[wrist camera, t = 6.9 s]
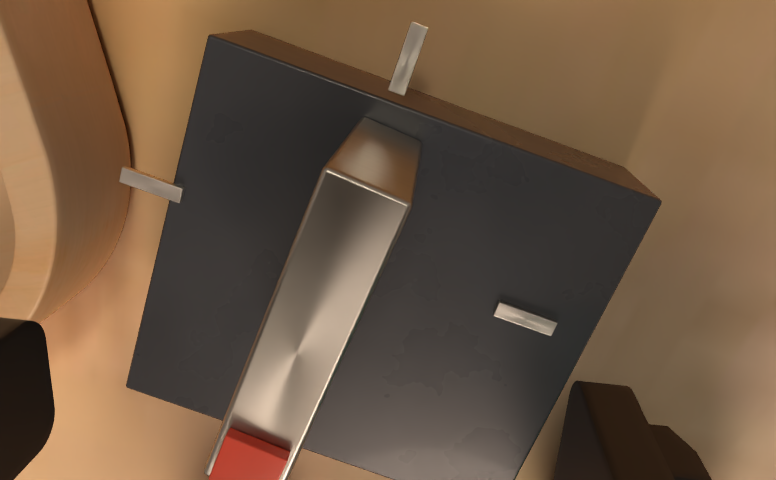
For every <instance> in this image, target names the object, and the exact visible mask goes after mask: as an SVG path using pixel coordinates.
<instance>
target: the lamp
mask: <svg viewBox="0 0 776 480" xmlns="http://www.w3.org/2000/svg"><path fill="white" fill-rule="evenodd" d="M124 166H127V167H130V168H131V161H130V151H129V143H128V138H127V133H126V127H125V124H124V120H123V117H122V114H121V110H120V107H119V103H118V100H117V96H116V93H115V89H114V86H113V83H112V79H111V76H110V73H109V70H108V67H107V63H106V60H105V57H104V54H103V50H102V47H101V44H100V41H99V38H98V34H97V31H96V28H95V25H94V22H93V18H92V15H91V12H90V9H89V6H88V2H87V0H0V317H2V318H11V319H21V320H30V321H35V322H37V323H41V322H42V321H43V320H45V319H46V318H47V317H48V316H50V315H51V314H52V313H54V312H55V311H56V310H57V309H59V308H60V307H61V306H63V305H64V304H65V303H66V302H68V301H69V300H70V299H71V298H73V297H74V296H75V295H76V294H78V293H79V292H80V291H81V290H83V289H84V288H85V287H86V286H87V285H88V284H89V283H90V282H91V281H92V280H93V279H94V278H95V277H96V275H97V274H98V273H99V272H100V270H101V269H102V268H103V267H104V265H105V264H106V262H107V260H108V259H109V257H110V256H111V254H112V252H113V250H114V248H115V246H116V244H117V242H118V240H119V237H120V234H121V232H122V229H123V226H124V222H125V219H126V215H127V210H128V204H129V198H130V187H131V186H129V185H126V184H124V183H121V182H119V179H120V174H121V169H122V167H124Z"/></svg>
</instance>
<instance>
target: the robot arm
mask: <svg viewBox="0 0 776 480" xmlns="http://www.w3.org/2000/svg"><path fill="white" fill-rule="evenodd" d="M54 415H55V408H54V399H53V391H52V383H51V376H50V368H49V360H48V352H47V344H46V337H45V333H44V330H43V328H42V327H41V325H40V324H39V323H37V322H35V321H30V320H21V319H11V318H2V317H0V480H14V479H15V478H16V476H17V475H18V474H19V473H20V472H21V471H22V470H23V469H24V468H25V467H26V466H27V465H28V464H29V463H30V462H31V461H32V459H33V458H34V457H35V456H36V455H37V454H38V453H39V452H40V451H41V450H42V448H43V447H44V445H45V444H46V442H47V440H48V438H49V436H50V433H51V430H52V427H53V423H54ZM554 480H712V479H711V477H710V476H709V474H708V472H707V470H706V468H705V467H704V465H703V463H702V461H701V459H700V458H699V456H698V454H697V452H696V451H695V450H693V449H692V448H691V447H690V446H689V445H688V444H687V443H686V442H685V441H683V440H682V439H681V438H680V437H679V436H678V435H677V434H676V433H675V432H673V431H672V430H671V429H670V428H669V427H668V426H660V425H651V424H648V422H647V420H646V418H645V416H644V414H643V412H642V409H641V407H640V405H639V403H638V401H637V399H636V397H635V395H634V393H633V391H632V389H631V388H630V387H628V386H620V385H611V384H602V383H593V382H583V381H575V382H574V384H573V385H572V388H571V391H570V395H569V400H568V405H567V410H566V416H565V421H564V426H563V431H562V437H561V442H560V447H559V453H558V458H557V463H556V469H555V476H554Z"/></svg>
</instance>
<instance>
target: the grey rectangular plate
mask: <svg viewBox="0 0 776 480" xmlns="http://www.w3.org/2000/svg"><path fill="white" fill-rule="evenodd" d="M421 152H422V143H421V141H419V140H416V139H414V138H412V137H410V136H407V135H405V134H403V133H400V132H398V131H396V130H394V129H391V128H389V127H387V126H384V125H382V124H380V123H378V122H375V121H373V120H371V119H368V118H366V117H362V118H361V119H360V120H359V122H358V123H357V124H356V126H355V127H354V128H353V129H352V131H351V132H350V133H349V135H348V136H347V137H346V139H345V140H344V141H343V142H342V144H341V145H340V146H339V148H338V149H337V150H336V152H335V153H334V154H333V155H332V157H331V158H330V159H329V161H328V162H327V163H326V165H325V166H324V167H323V169H322V170H321V173H320V176H319V178H318V181H317V183H316V186H315V188H314V191H313V193H312V196H311V198H310V201H309V203H308V206H307V209H306V211H305V214H304V216H303V219H302V221H301V224H300V226H299V229H298V231H297V234H296V237H295V239H294V242H293V244H292V247H291V249H290V252H289V254H288V257H287V259H286V262H285V264H284V267H283V270H282V272H281V275H280V277H279V280H278V282H277V285H276V287H275V290H274V292H273V295H272V298H271V300H270V303H269V305H268V308H267V310H266V313H265V315H264V318H263V320H262V323H261V325H260V328H259V331H258V333H257V336H256V338H255V341H254V343H253V346H252V348H251V351H250V353H249V356H248V358H247V361H246V364H245V366H244V369H243V371H242V374H241V376H240V379H239V381H238V384H237V386H236V389H235V392H234V394H233V397H232V399H231V402H230V404H229V407H228V409H227V412H226V414H225V417H224V419H223V422H222V425H221V427H220V430H219V432H218V435H217V437H216V440H215V442H214V445H213V447H212V450H211V453H210V455H209V458H208V460H207V463H206V465H205V468H204V473H205V474H206V475H207V476H209V480H288V477H289V475H290V473H291V471H292V469H293V466H294V464H295V462H296V460H297V458H298V456H299V453H300V451H301V449H302V447H303V445H304V442H305V440H306V438H307V436H308V434H309V432H310V429H311V427H312V425H313V423H314V421H315V418H316V416H317V414H318V412H319V410H320V408H321V405H322V403H323V401H324V399H325V397H326V394H327V392H328V390H329V388H330V386H331V384H332V381H333V379H334V377H335V375H336V373H337V370H338V368H339V366H340V364H341V362H342V359H343V357H344V355H345V353H346V351H347V349H348V346H349V344H350V342H351V340H352V338H353V335H354V333H355V331H356V329H357V327H358V325H359V322H360V320H361V318H362V316H363V314H364V311H365V309H366V307H367V305H368V303H369V301H370V298H371V296H372V294H373V292H374V290H375V287H376V285H377V283H378V281H379V279H380V277H381V274H382V272H383V270H384V268H385V266H386V263H387V261H388V259H389V257H390V255H391V253H392V250H393V248H394V246H395V244H396V242H397V239H398V237H399V235H400V233H401V231H402V228H403V226H404V224H405V222H406V220H407V218H408V215H409V213H410V211H411V209H412V205H413V199H414V193H415V187H416V181H417V175H418V170H419V164H420V158H421Z"/></svg>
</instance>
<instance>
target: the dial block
mask: <svg viewBox="0 0 776 480" xmlns="http://www.w3.org/2000/svg"><path fill="white" fill-rule="evenodd" d="M428 29H429V27H427V26H424V25H421V24H419V23H416V22H413V21H411V24H410V26H409V29H408V32H407V35H406V38H405V41H404V44H403V47H402V50H401V53H400V56H399V58H398V61H397V64H396V67H395V70H394V73H393V76H392V79H391V81H389V80H386V79H384V78H381V77H378V76H375V75H373V74H370V73H367V72H365V71H362V70H359V69H356V68H354V67H351V66H348V65H346V64H343V63H340V62H338V61H335V60H332V59H329V58H327V57H324V56H321V55H319V54H316V53H313V52H310V51H308V50H305V49H302V48H300V47H297V46H294V45H291V44H289V43H286V42H283V41H281V40H278V39H275V38H273V37H270V36H267V35H264V34H262V33H259V32H256V31H254V30H245V31H237V32H228V33H220V34H211V35H209V36H208V39H207V43H206V47H205V52H204V56H203V60H202V64H201V69H200V73H199V77H198V81H197V86H196V90H195V94H194V98H193V103H192V107H191V111H190V116H189V120H188V124H187V128H186V133H185V137H184V141H183V145H182V150H181V154H180V158H179V162H178V167H177V171H176V175H175V179H174V183H172V182H169V181H166V180H164V179H161V178H158V177H155V176H152V175H150V174H147V173H144V172H141V171H138V170H136V169H133V168H130V167H127V166H124V167H122V169H121V174H120V179H119V182H121V183H124V184H126V185H129V186H132V187H135V188H138V189H140V190H143V191H146V192H149V193H152V194H154V195H157V196H160V197H163V198H166V199H168V200H170V201H169V205H168V209H167V213H166V218H165V222H164V226H163V230H162V235H161V239H160V243H159V247H158V252H157V256H156V260H155V264H154V269H153V273H152V277H151V281H150V286H149V290H148V294H147V298H146V303H145V307H144V311H143V315H142V320H141V324H140V328H139V332H138V337H137V341H136V345H135V349H134V354H133V358H132V362H131V366H130V371H129V375H128V379H127V384H126V387H127V388H130V389H133V390H136V391H138V392H141V393H144V394H147V395H150V396H153V397H156V398H159V399H162V400H164V401H167V402H170V403H173V404H176V405H179V406H182V407H185V408H188V409H191V410H193V411H196V412H199V413H202V414H205V415H208V416H211V417H214V418H217V419H220V420H222V421H223V419H224V417H225V414H226V412H227V409H228V407H229V404H230V402H231V399H232V397H233V394H234V392H235V389H236V386H237V384H238V381H239V379H240V376H241V374H242V371H243V369H244V366H245V364H246V361H247V358H248V356H249V353H250V351H251V348H252V346H253V343H254V341H255V338H256V336H257V333H258V331H259V328H260V325H261V323H262V320H263V318H264V315H265V313H266V310H267V308H268V305H269V303H270V300H271V298H272V295H273V292H274V290H275V287H276V285H277V282H278V280H279V277H280V275H281V272H282V270H283V267H284V264H285V262H286V259H287V257H288V254H289V252H290V249H291V247H292V244H293V242H294V239H295V237H296V234H297V231H298V229H299V226H300V224H301V221H302V219H303V216H304V214H305V211H306V209H307V206H308V203H309V201H310V198H311V196H312V193H313V191H314V188H315V186H316V183H317V181H318V178H319V176H320V173H321V170H322V169H323V167H324V166H325V165H326V163H327V162H328V161H329V159H330V158H331V157H332V155H333V154H334V153H335V152H336V150H337V149H338V148H339V146H340V145H341V144H342V142H343V141H344V140H345V139H346V137H347V136H348V135H349V133H350V132H351V131H352V129H353V128H354V127H355V126H356V124H357V123H358V122H359V120H360V119H361V118H362V117H366V118H368V119H371V120H373V121H375V122H378V123H380V124H382V125H384V126H387V127H389V128H391V129H394V130H396V131H398V132H400V133H403V134H405V135H407V136H410V137H412V138H414V139H416V140H419V141H421V143H422V152H421V158H420V164H419V170H418V175H417V181H416V187H415V193H414V199H413V205H412V209H411V211H410V213H409V215H408V218H407V220H406V222H405V224H404V226H403V228H402V231H401V233H400V235H399V237H398V239H397V242H396V244H395V246H394V248H393V250H392V253H391V255H390V257H389V259H388V261H387V263H386V266H385V268H384V270H383V272H382V274H381V277H380V279H379V281H378V283H377V285H376V287H375V290H374V292H373V294H372V296H371V298H370V301H369V303H368V305H367V307H366V309H365V311H364V314H363V316H362V318H361V320H360V322H359V325H358V327H357V329H356V331H355V333H354V335H353V338H352V340H351V342H350V344H349V346H348V349H347V351H346V353H345V355H344V357H343V359H342V362H341V364H340V366H339V368H338V370H337V373H336V375H335V377H334V379H333V381H332V384H331V386H330V388H329V390H328V392H327V394H326V397H325V399H324V401H323V403H322V405H321V408H320V410H319V412H318V414H317V416H316V418H315V421H314V423H313V425H312V427H311V429H310V432H309V434H308V436H307V438H306V440H305V442H304V445H303V447H302V448H304V449H307V450H309V451H312V452H315V453H318V454H321V455H324V456H327V457H330V458H333V459H336V460H338V461H341V462H344V463H347V464H350V465H353V466H356V467H359V468H362V469H364V470H367V471H370V472H373V473H376V474H379V475H382V476H385V477H388V478H391V479H393V480H515V478H516V476H517V474H518V472H519V470H520V469H521V467H522V465H523V463H524V461H525V459H526V457H527V455H528V454H529V452H530V450H531V448H532V446H533V444H534V442H535V440H536V438H537V437H538V435H539V433H540V431H541V429H542V427H543V425H544V423H545V422H546V420H547V418H548V416H549V414H550V412H551V410H552V408H553V406H554V405H555V403H556V401H557V399H558V397H559V395H560V393H561V391H562V390H563V388H564V386H565V384H566V382H567V380H568V378H569V376H570V375H571V373H572V371H573V369H574V367H575V365H576V363H577V361H578V359H579V358H580V356H581V354H582V352H583V350H584V348H585V346H586V344H587V343H588V341H589V339H590V337H591V335H592V333H593V331H594V329H595V327H596V326H597V324H598V322H599V320H600V318H601V316H602V314H603V312H604V311H605V309H606V307H607V305H608V303H609V301H610V299H611V297H612V295H613V294H614V292H615V290H616V288H617V286H618V284H619V282H620V280H621V279H622V277H623V275H624V273H625V271H626V269H627V267H628V265H629V263H630V262H631V260H632V258H633V256H634V254H635V252H636V250H637V248H638V247H639V245H640V243H641V241H642V239H643V237H644V235H645V233H646V231H647V230H648V228H649V226H650V224H651V222H652V220H653V218H654V216H655V215H656V213H657V211H658V209H659V207H660V205H661V202H662V201H661V200H660V199H659V198H658V197H657V196H656V195H654V194H653V193H652V192H651V191H650V190H649V189H648V188H647V187H646V186H644V185H643V184H642V183H641V182H640V181H639V180H638V179H637V178H636V177H634V176H633V175H632V174H631V173H630V172H629V171H628V170H627V169H626V168H624V167H622V166H619V165H616V164H614V163H611V162H608V161H606V160H603V159H600V158H597V157H595V156H592V155H589V154H587V153H584V152H581V151H578V150H576V149H573V148H570V147H568V146H565V145H562V144H560V143H557V142H554V141H551V140H549V139H546V138H543V137H541V136H538V135H535V134H532V133H530V132H527V131H524V130H522V129H519V128H516V127H513V126H511V125H508V124H505V123H503V122H500V121H497V120H495V119H492V118H489V117H486V116H484V115H481V114H478V113H476V112H473V111H470V110H467V109H465V108H462V107H459V106H457V105H454V104H451V103H449V102H446V101H443V100H440V99H438V98H435V97H432V96H430V95H427V94H424V93H421V92H419V91H416V90H413V89H411V88H408V85H409V82H410V79H411V77H412V74H413V71H414V68H415V65H416V62H417V60H418V57H419V54H420V51H421V48H422V45H423V43H424V40H425V37H426V34H427V31H428Z"/></svg>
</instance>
